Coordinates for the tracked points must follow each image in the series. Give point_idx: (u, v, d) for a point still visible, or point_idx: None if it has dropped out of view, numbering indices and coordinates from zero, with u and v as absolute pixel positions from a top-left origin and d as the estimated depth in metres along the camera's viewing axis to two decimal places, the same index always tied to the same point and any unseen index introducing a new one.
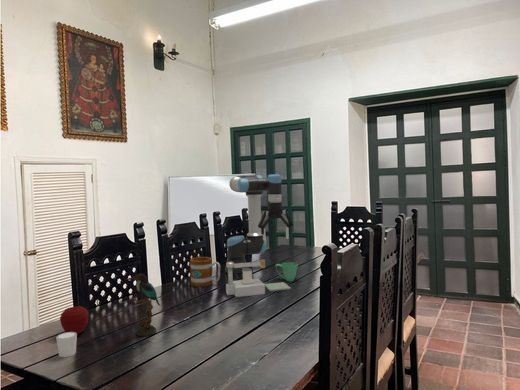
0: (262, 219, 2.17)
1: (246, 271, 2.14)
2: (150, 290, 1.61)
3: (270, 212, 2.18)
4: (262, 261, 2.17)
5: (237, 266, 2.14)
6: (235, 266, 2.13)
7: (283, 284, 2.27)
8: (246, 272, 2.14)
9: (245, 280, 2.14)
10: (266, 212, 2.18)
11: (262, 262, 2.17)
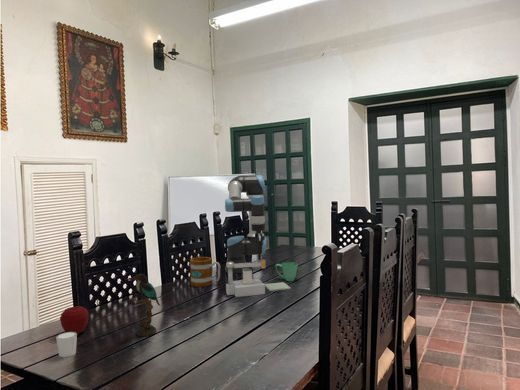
0: (255, 242, 2.22)
1: (246, 271, 2.14)
2: (150, 290, 1.61)
3: None
4: (262, 261, 2.16)
5: (237, 266, 2.13)
6: (235, 266, 2.13)
7: (283, 284, 2.27)
8: (246, 272, 2.14)
9: (245, 280, 2.14)
10: None
11: (262, 262, 2.16)
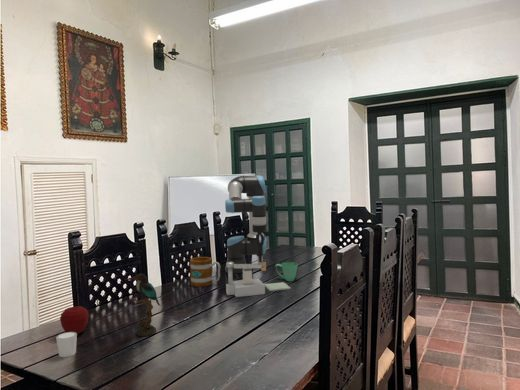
0: (257, 244, 2.17)
1: (246, 271, 2.14)
2: (150, 290, 1.61)
3: None
4: (263, 264, 2.11)
5: (237, 267, 2.12)
6: (235, 266, 2.12)
7: (283, 284, 2.27)
8: (246, 272, 2.14)
9: (245, 280, 2.14)
10: None
11: (263, 265, 2.11)
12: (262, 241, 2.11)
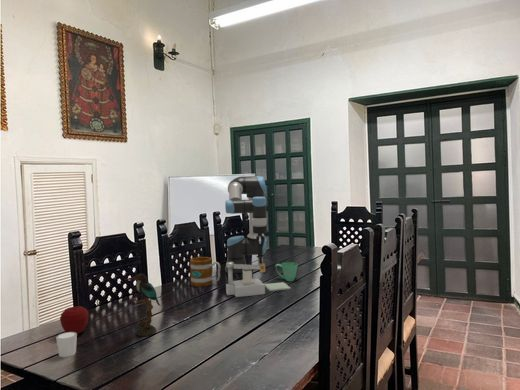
0: None
1: (246, 271, 2.14)
2: (150, 290, 1.61)
3: None
4: (261, 265, 2.08)
5: (236, 267, 2.12)
6: (234, 267, 2.12)
7: (283, 284, 2.27)
8: (246, 272, 2.14)
9: (245, 280, 2.14)
10: None
11: (261, 266, 2.08)
12: (262, 242, 2.08)
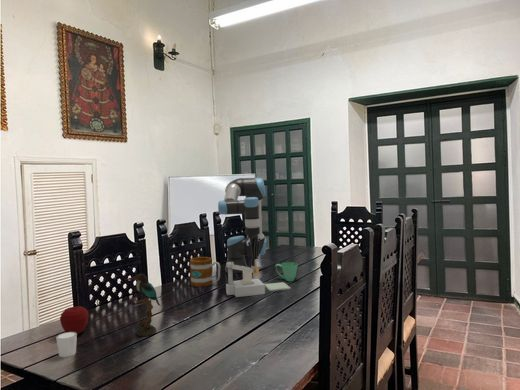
0: None
1: (246, 271, 2.14)
2: (150, 290, 1.61)
3: None
4: (254, 268, 2.01)
5: (234, 268, 2.10)
6: (232, 267, 2.11)
7: (283, 284, 2.27)
8: (246, 272, 2.14)
9: (245, 280, 2.14)
10: None
11: (254, 269, 2.01)
12: (253, 244, 2.02)
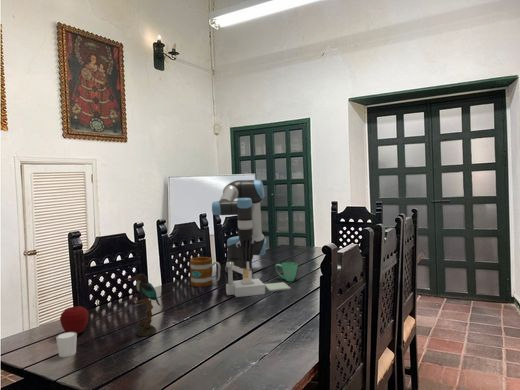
0: None
1: None
2: (150, 290, 1.61)
3: None
4: (244, 270, 1.97)
5: (231, 268, 2.10)
6: (231, 267, 2.11)
7: (283, 284, 2.27)
8: None
9: (245, 280, 2.14)
10: None
11: (244, 271, 1.97)
12: (244, 246, 1.98)
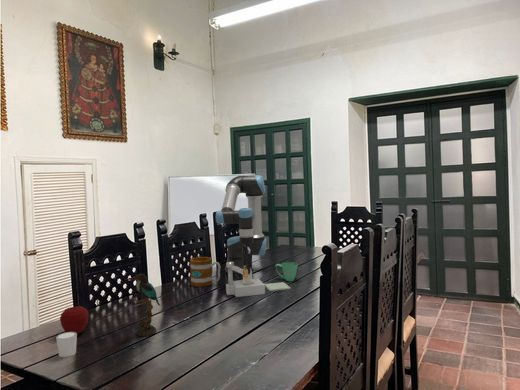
0: (242, 254, 2.21)
1: None
2: (150, 290, 1.61)
3: (243, 245, 2.18)
4: (243, 270, 1.97)
5: (231, 268, 2.10)
6: (231, 267, 2.11)
7: (283, 284, 2.27)
8: None
9: (245, 280, 2.14)
10: (243, 247, 2.20)
11: (243, 271, 1.97)
12: None
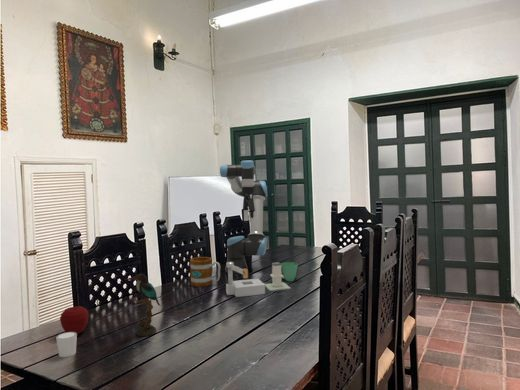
0: (243, 201, 2.40)
1: (276, 266, 2.21)
2: (150, 290, 1.61)
3: (245, 195, 2.36)
4: (243, 270, 1.97)
5: (231, 268, 2.10)
6: (231, 267, 2.11)
7: (283, 284, 2.27)
8: (276, 267, 2.21)
9: (275, 274, 2.21)
10: (245, 195, 2.38)
11: (243, 271, 1.97)
12: None
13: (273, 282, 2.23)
